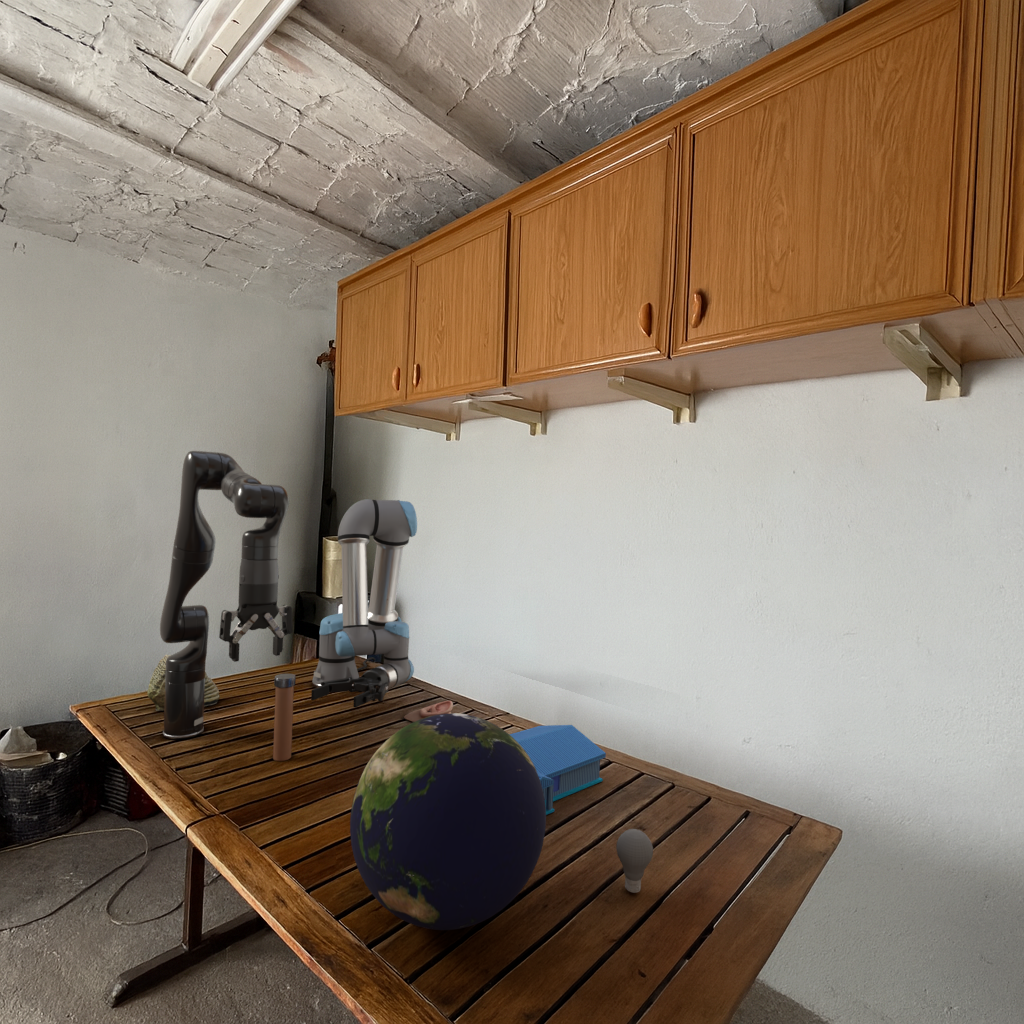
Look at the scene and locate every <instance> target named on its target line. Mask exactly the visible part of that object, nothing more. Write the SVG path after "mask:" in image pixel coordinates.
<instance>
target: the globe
mask: <svg viewBox="0 0 1024 1024" xmlns="http://www.w3.org/2000/svg"><path fill="white" fill-rule="evenodd" d="M349 826H350V827H349V832H350V833H349V834H350V844H351V850H352V854H353V858H354V862H355V865H356V867H357V870H358V872H359V875H360V877H361V879H362V880H363V882H364V884H365V886H366V887H367V889H368V890H369V892H370V893H371V895H372V896H373V897H374V899H376V900H377V902H378V903H379V904H380V905H382V907H383V908H384V909H386V911H388V912H390V913H391V914H392V915H393V916H395V917H397V918H398V919H400V920H402V921H403V922H406V923H408V924H410V925H413V926H416V927H418V928H423V929H426V930H433V931H434V930H435V931H454V930H460V929H464V928H469V927H472V926H475V925H478V924H481V923H483V922H484V921H487V920H488V919H490V918H492V917H494V916H495V915H496V914H498V913H500V912H501V911H503V910H504V909H505V908H506V907H507V906H508V905H509V904H511V903H512V902H513V900H515V898H516V897H517V896H518V895H519V894H520V892H521V891H522V890H523V889H524V887H525V886H526V884H527V883H528V882H529V880H530V877H531V876H532V875H533V872H534V870H535V868H536V867H537V865H538V862H539V858H540V856H541V853H542V849H543V845H544V840H545V835H546V826H547V815H546V807H545V799H544V794H543V789H542V785H541V782H540V779H539V776H538V774H537V771H536V768H535V766H534V764H533V763H532V761H531V759H530V758H529V756H528V754H527V753H526V752H525V750H524V749H523V748H522V747H521V745H520V744H519V743H518V742H517V741H516V740H515V739H514V738H513V737H512V736H511V735H510V733H508V732H507V731H506V730H504V729H503V728H501V727H500V726H498V725H497V724H495V723H493V722H491V721H488V720H486V719H484V718H482V717H479V716H475V715H470V714H466V713H459V712H458V713H457V712H455V713H452V714H439V715H434V716H429V717H426V718H423V719H420V720H418V721H415V722H411V723H409V724H407V725H405V726H404V727H402V728H400V729H399V730H397V731H396V732H395V733H393V734H392V735H391V736H390V737H388V738H387V739H386V740H385V741H384V742H383V743H382V744H381V745H380V746H379V748H378V749H377V750H376V751H375V752H374V753H373V755H372V756H371V757H370V759H369V761H368V762H367V764H366V766H365V767H364V769H363V771H362V774H361V775H360V777H359V780H358V782H357V785H356V789H355V792H354V795H353V799H352V804H351V809H350V819H349Z"/></svg>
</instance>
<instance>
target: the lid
mask: <svg viewBox="0 0 1024 1024" xmlns="http://www.w3.org/2000/svg"><path fill="white" fill-rule="evenodd" d="M296 681H297V679H296V674H293V673H280V674H276V675H275V676H274V679H273V685H274V687H275V688H276V687H279V688H287V687H292V686H294V687H295V685H296V683H297V682H296Z"/></svg>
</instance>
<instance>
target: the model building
mask: <svg viewBox="0 0 1024 1024" xmlns="http://www.w3.org/2000/svg"><path fill="white" fill-rule="evenodd" d="M509 735H511V736H512V737H513V738H514V739H515V740H516V741H517V742H518V743H519V744H520V745H521V747H522V748H523V749H524V750H525V752H526V753H527V754H528V756H529V758H530V759H531V761H532V763H533V764H534V766H535V768H536V771H537V774H538V776H539V779H540V782H541V785H542V789H543V794H544V799H545V807H546V816H547V815H549V814H550V815H551V814H552V813H554V812H555V810H556V809H555V808H553V807H554V802H556V801H558V800H561V799H563V798H566V797H568V796H571V795H572V794H575V793H578V792H581V791H583V790H584V789H587V788H590V787H592V786H594V785H596V784H599V783H601V782H603V781H604V779H603V778H602V777H600V771H601V769H600V768H601V760H603V759H605V758H606V757H607V753H606V752H605V751H604V750H603V749H601V747H600V746H598V745H597V744H596V743H594V741H592V740H591V739H590V738H588V737H587V736H586V735H585V734H584V733H582V732H581V731H580V730H579V729H578V728H576V726H574V725H573V724H552V725H547V724H546V725H538V726H533V727H531V728H528V729H524V730H523V729H522V730H521V731H517V732H513V733H509Z"/></svg>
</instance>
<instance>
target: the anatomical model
mask: <svg viewBox="0 0 1024 1024" xmlns="http://www.w3.org/2000/svg"><path fill="white" fill-rule="evenodd" d="M453 708H454V703H453V700H444V701H440V702H436V703H434V704H431V705H427V706H425V707H422V708H419V709H415V710H412V711H410V712H407V713H406V714H405V715H404V716H403V718H404V720H407V721H410V722H411V723H413V722H415V721H418V720H420V719H423V718H426V717H429V716H434V715H439V714H453V713H452V710H453Z"/></svg>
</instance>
